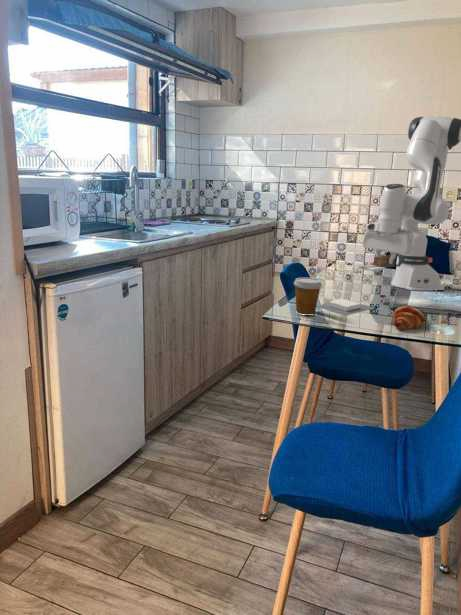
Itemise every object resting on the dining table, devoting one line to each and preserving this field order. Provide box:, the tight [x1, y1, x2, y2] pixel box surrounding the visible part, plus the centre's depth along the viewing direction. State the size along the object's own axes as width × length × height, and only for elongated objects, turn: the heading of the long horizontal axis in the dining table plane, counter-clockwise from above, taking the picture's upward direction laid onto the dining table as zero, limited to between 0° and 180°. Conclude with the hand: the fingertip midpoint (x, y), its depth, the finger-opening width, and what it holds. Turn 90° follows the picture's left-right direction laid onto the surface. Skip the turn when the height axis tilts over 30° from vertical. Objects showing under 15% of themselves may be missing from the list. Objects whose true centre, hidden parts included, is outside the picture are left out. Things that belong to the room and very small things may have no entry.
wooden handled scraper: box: [357, 254, 397, 272], centre depth 197 cm, size 7×18×4 cm, turn 130°
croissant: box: [392, 305, 426, 330], centre depth 170 cm, size 21×10×8 cm, turn 144°
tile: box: [328, 298, 361, 311], centre depth 185 cm, size 2×8×8 cm
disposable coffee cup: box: [293, 276, 323, 315], centre depth 176 cm, size 10×10×12 cm
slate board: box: [316, 302, 376, 317], centre depth 186 cm, size 18×14×1 cm
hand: (384, 262), depth 199 cm, fingers closed on wooden handled scraper, 3 cm apart
